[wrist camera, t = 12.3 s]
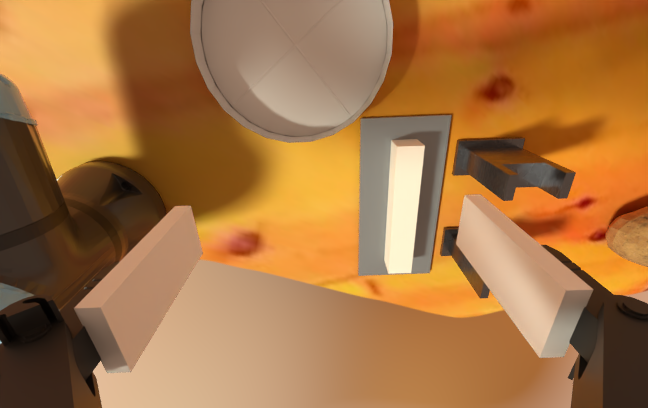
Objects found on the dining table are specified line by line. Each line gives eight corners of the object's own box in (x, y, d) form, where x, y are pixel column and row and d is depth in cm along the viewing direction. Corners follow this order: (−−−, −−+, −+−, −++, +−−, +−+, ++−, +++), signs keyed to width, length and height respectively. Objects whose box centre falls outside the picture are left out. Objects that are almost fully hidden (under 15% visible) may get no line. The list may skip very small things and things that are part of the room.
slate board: (358, 273, 52) (358, 275, 51) (360, 118, 41) (361, 118, 40) (428, 271, 52) (429, 273, 51) (450, 114, 41) (451, 115, 40)
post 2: (452, 174, 44) (492, 209, 34) (457, 140, 42) (502, 166, 32) (514, 171, 44) (573, 206, 34) (522, 137, 42) (588, 163, 32)
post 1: (440, 253, 50) (471, 304, 40) (444, 227, 48) (477, 273, 38) (494, 251, 50) (539, 301, 40) (500, 225, 48) (550, 271, 38)
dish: (421, 58, 38) (434, 58, 34) (290, 166, 44) (287, 178, 39) (303, -130, 31) (300, -163, 26) (165, 31, 36) (143, 27, 32)
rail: (384, 260, 50) (388, 273, 47) (391, 139, 42) (397, 146, 38) (405, 259, 50) (411, 272, 47) (416, 139, 42) (424, 145, 38)
